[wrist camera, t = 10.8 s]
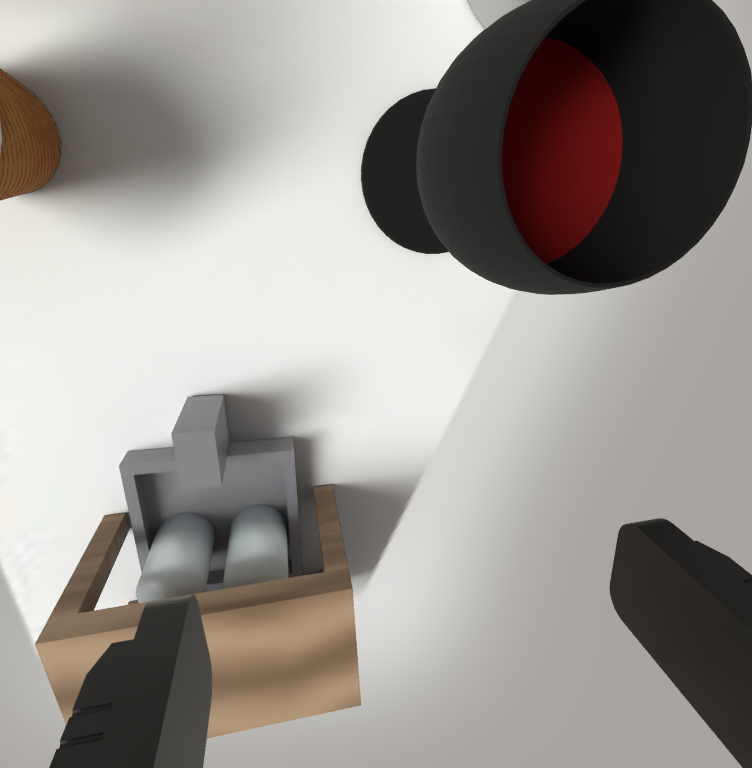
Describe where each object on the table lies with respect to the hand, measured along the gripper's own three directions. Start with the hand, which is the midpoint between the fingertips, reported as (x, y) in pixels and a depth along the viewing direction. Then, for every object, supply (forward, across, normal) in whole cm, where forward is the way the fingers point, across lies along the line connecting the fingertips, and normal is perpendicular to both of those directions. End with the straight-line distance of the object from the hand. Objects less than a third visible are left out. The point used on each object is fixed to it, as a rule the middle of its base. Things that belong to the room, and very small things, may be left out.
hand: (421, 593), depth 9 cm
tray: (+28, +9, +14) cm, 33 cm away
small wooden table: (+28, +9, +20) cm, 36 cm away
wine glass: (+28, -9, -8) cm, 31 cm away
